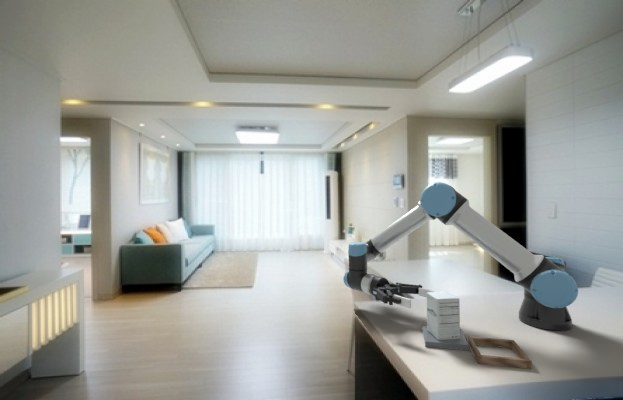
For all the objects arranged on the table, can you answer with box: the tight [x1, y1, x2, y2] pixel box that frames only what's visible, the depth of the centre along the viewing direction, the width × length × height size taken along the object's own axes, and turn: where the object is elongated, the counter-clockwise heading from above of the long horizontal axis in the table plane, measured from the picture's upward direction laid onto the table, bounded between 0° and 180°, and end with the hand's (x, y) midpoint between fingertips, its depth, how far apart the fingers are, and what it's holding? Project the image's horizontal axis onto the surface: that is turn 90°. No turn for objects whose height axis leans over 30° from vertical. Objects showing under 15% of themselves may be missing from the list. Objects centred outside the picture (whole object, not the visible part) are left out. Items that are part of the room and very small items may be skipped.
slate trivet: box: [421, 325, 470, 351], centre depth 99 cm, size 12×12×2 cm
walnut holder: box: [467, 336, 532, 370], centre depth 89 cm, size 12×12×2 cm
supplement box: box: [426, 290, 461, 340], centre depth 99 cm, size 7×7×13 cm
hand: (423, 299), depth 105 cm, fingers open, 13 cm apart
